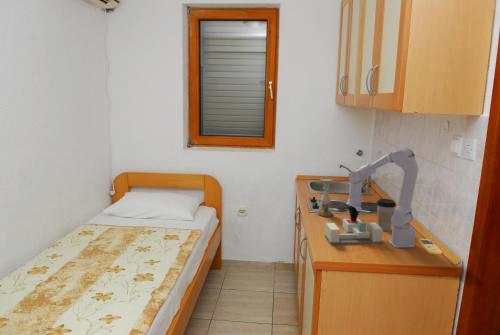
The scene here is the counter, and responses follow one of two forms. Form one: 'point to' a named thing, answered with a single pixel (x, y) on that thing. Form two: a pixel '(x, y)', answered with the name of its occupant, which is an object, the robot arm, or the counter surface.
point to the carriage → (361, 230)
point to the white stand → (353, 235)
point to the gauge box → (349, 226)
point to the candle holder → (325, 198)
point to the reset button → (352, 221)
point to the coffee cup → (385, 213)
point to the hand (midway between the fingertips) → (353, 220)
